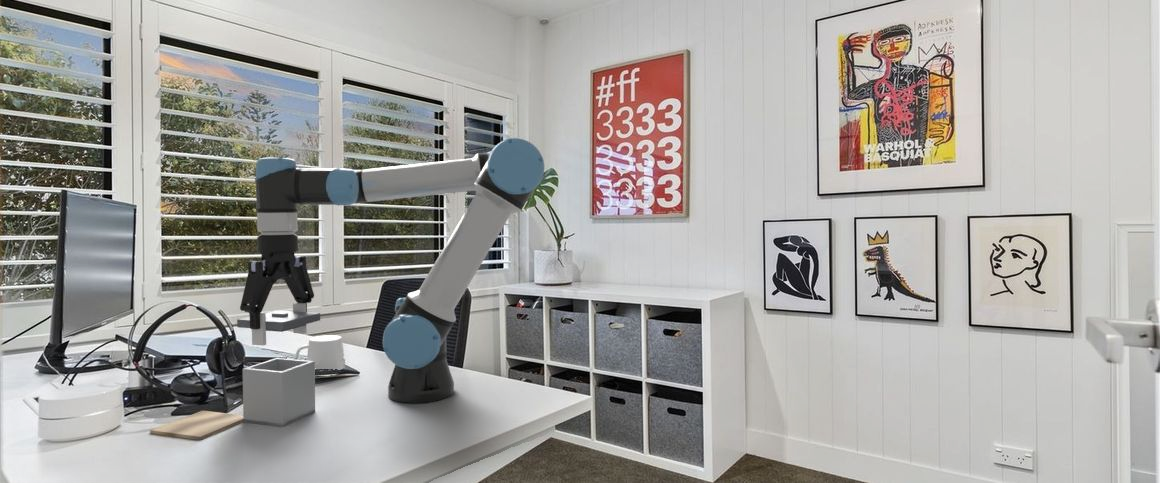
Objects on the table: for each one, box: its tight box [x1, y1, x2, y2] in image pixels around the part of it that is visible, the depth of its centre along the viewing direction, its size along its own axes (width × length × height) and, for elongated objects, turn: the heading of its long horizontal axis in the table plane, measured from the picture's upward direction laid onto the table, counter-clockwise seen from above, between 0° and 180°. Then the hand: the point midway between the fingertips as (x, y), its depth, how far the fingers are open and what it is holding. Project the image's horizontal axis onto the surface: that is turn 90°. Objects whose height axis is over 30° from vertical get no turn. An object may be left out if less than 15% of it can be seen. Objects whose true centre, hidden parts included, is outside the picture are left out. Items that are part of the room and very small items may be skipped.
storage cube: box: [242, 357, 316, 427], centre depth 129 cm, size 10×10×11 cm
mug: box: [295, 334, 346, 370], centre depth 163 cm, size 12×9×8 cm
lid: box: [236, 310, 321, 333], centre depth 128 cm, size 11×11×3 cm
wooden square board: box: [149, 410, 245, 441], centre depth 124 cm, size 12×12×1 cm
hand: (280, 338), depth 129 cm, fingers closed on lid, 11 cm apart
